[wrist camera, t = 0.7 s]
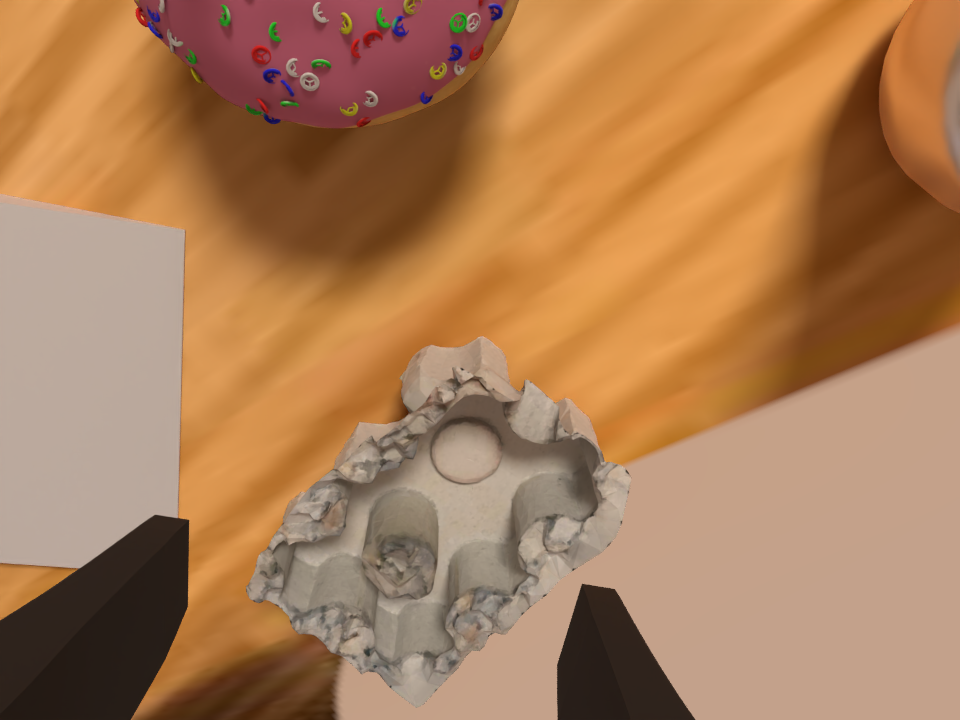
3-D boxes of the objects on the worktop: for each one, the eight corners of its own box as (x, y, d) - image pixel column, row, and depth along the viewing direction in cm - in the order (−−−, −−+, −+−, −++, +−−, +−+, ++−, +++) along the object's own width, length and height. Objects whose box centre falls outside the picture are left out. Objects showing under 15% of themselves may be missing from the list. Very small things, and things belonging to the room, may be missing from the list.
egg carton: (458, 297, 21) (460, 354, 17) (634, 443, 23) (668, 522, 20) (245, 524, 24) (207, 615, 20) (418, 634, 26) (413, 734, 23)
